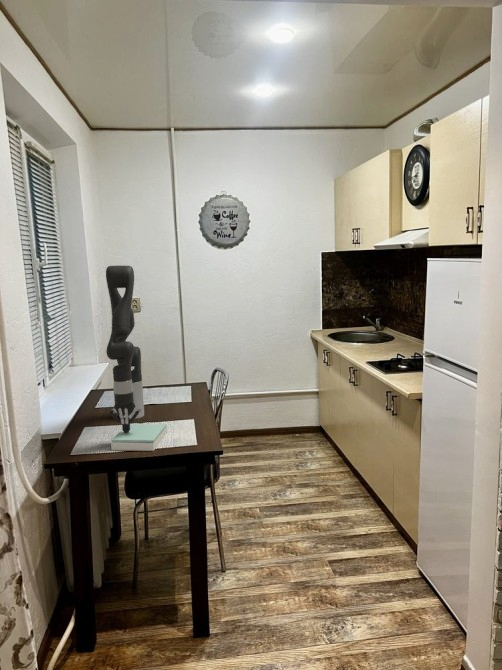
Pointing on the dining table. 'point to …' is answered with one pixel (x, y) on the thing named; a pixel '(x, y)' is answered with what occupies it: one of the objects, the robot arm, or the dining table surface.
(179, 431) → the dining table surface
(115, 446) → the drive bay
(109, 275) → the robot arm
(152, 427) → the cover
